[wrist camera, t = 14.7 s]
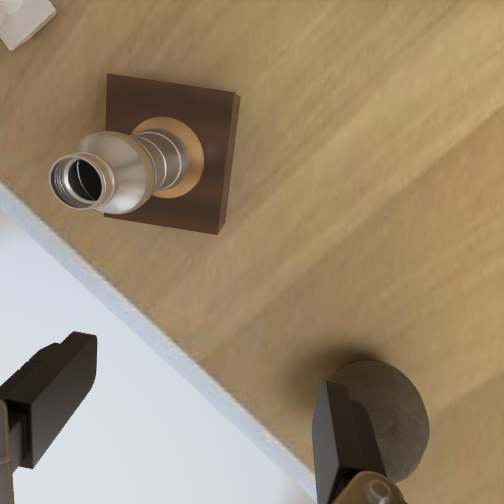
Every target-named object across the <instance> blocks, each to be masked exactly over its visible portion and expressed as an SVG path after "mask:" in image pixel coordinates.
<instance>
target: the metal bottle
mask: <svg viewBox="0 0 504 504" xmlns="http://www.w3.org/2000/svg"><path fill="white" fill-rule="evenodd" d="M189 165H190V157H189V153H188V150H187V148H186V146H185V145H184V143H183V142H182V141H181V140H180V139H179V138H178V137H177V136H176V135H174V134H173V133H171V132H169V131H166V130H163V129H158V128H152V129H147V130H144V131H142V132H140V133H138V134H136V135H135V136H130V135H126V134H123V133H119V132H113V131H100V132H95V133H92V134H90V135H88V136H86V137H85V138H83V139H82V140H81V141H80V142H79V143H78V144H77V145H76V146H75V147H74V148H73V150H72V152H71V154H70V155H66V156H63V157H61V158H59V159H58V160H56V161H55V162H54V164H53V165H52V167H51V169H50V172H49V185H50V188H51V190H52V192H53V194H54V195H55V197H56V198H57V199H58V200H59V201H60V202H61V203H62V204H64V205H65V206H67V207H69V208H71V209H75V210H88V209H91V208H93V209H95V210H98V211H100V212H104V213H110V214H124V213H129V212H132V211H134V210H136V209H137V208H139V207H141V206H142V205H143V204H144V203H145V202H146V201H147V200H148V199H149V198H150V196H151V195H152V194H153V192H155V191H163V190H169V189H172V188H174V187H176V186H177V185H179V184H180V183H181V182H182V181H183V180H184V178H185V177H186V175H187V172H188V169H189Z"/></svg>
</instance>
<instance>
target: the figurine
mask: <svg viewBox="0 0 504 504" xmlns="http://www.w3.org/2000/svg"><path fill="white" fill-rule="evenodd" d="M55 15H56V9H55V8H54V7H53V5H52V4H51V2H50V1H49V0H0V38H1V40H2V41H3V42H4V44H5V45H6V46H7V48H8V49H9V50H10V51H12V50H13V49H15V48H17V47H18V46H20V45H21V44H23V43H24V42H26V41H27V40H29V39H30V38H32V37H33V36H34V35H35V34H36V33H37V32H38V31H39V30H40V29H41V28H42V27H44V26H45V25H46V24H47V23H48V22H49V21H50V20H51V19H52V18H53V17H54V16H55Z"/></svg>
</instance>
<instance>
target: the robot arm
mask: <svg viewBox="0 0 504 504" xmlns="http://www.w3.org/2000/svg"><path fill="white" fill-rule="evenodd" d="M96 365H97V337H96V335H91V334H86V333H81V332H76V331H74V332H72V333H71V334H70V335H69V336H68V337H67V338H66V339H65V340H64V341H63V342H62V343H61V344H59V343H53V344H51V345H49V346H47V347H44V348H43V349H40V350H39V351H38V352H37V353H36V354H35V355H34V356H33V357H32V358H30V359H29V362H26V363H25V364H24V365H23V366H22V367H21V369H20V370H17V371H16V372H15V373H14V374H13V375H12V376H11V377H10V378H9V379H8V380H7V381H6V382H4V383H3V384H2V385H1V386H0V504H14V491H13V477H12V474H13V472H14V471H15V470H16V469H17V467H18V466H20V467H25V468H30V469H33V468H34V467H35V465H36V464H37V463H38V461H39V460H40V458H41V457H42V456H43V454H44V453H45V452H46V450H47V449H48V448H49V446H50V445H51V443H52V442H53V440H54V439H55V438H56V436H57V435H58V434H59V432H60V431H61V430H62V428H63V427H64V426H65V424H66V423H67V421H68V420H69V419H70V417H71V416H72V415H73V413H74V412H75V410H76V409H77V407H78V406H79V405H80V404H81V402H82V401H83V399H84V398H85V397H86V395H87V394H88V392H89V391H90V390H91V388H92V385H93V383H94V380H95V376H96ZM372 427H373V426H372V422H371V419H370V415H369V413H368V412H367V410H366V409H365V408H364V406H363V405H362V404H361V402H360V401H355V400H350V397H349V393H348V388H347V385H346V383H341V382H336V381H331V380H326V379H324V380H323V382H322V385H321V389H320V393H319V397H318V400H317V404H316V408H315V412H314V415H313V421H312V443H313V455H314V466H315V478H316V490H317V502H318V504H407V503H406V502H405V500H404V497H403V495H402V493H401V491H400V490H399V488H398V487H397V486H396V485H395V484H394V483H393V482H392V481H391V480H390V479H388V478H387V475H386V471H385V468H384V464H383V461H382V457H381V454H380V450H379V447H378V443H377V440H376V439H375V437H376V436H375V433H374V429H373V428H372Z"/></svg>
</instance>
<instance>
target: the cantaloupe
mask: <svg viewBox="0 0 504 504" xmlns="http://www.w3.org/2000/svg"><path fill="white" fill-rule="evenodd" d="M331 381H336V382H341V383H346V385H347V388H348V393H349V397H350V400H355V401H360V402H361V404H362V405H363V406H364V408H365V409H366V410H367V412H368V413H369V415H370V419H371V422H372V426H373V427H372V428H373V429H374V433H375V436H376V437H375V439H376V440H377V443H378V447H379V450H380V454H381V457H382V461H383V464H384V468H385V471H386V475H387V478H388V479H390V480H391V481H392V482H393V483H397V482H400V481H402V480H404V479H406V478H408V477H409V476H410V475H411V474H412V473H413V472H414V471H415V470H416V468H417V466H418V465H419V463H420V461H421V459H422V456H423V453H424V451H425V449H426V447H427V443H428V439H429V421H428V416H427V413H426V409H425V406H424V404H423V401H422V398H421V396H420V394H419V392H418V390H417V389H416V387H415V386H414V385H413V384H412V382H411V381H410V380H409V379H408V378H407V377H406V376H405V375H404V374H403V373H402V372H401V371H399V370H398V369H397V368H395V367H393V366H391V365H388V364H385V363H382V362H377V361H359V362H354V363H351V364H349V365H347V366H344V367H343V368H341V369H340V370H339V371H338V372H337V373H336V374H335V375H334V376H333V377H332V378H331Z"/></svg>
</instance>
